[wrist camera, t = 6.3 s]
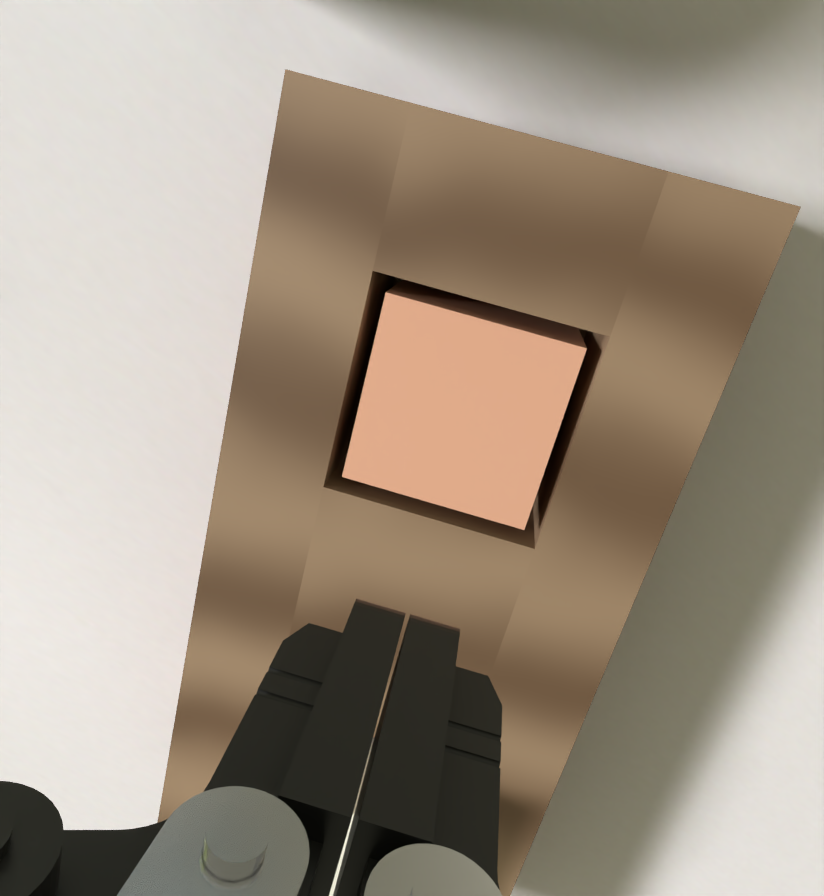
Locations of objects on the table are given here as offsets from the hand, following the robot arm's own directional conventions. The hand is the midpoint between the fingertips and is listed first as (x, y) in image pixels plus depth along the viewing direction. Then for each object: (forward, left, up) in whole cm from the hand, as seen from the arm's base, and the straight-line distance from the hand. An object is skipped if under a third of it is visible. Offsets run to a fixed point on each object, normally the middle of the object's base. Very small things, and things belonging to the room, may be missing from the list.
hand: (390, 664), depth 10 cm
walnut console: (+8, 0, -19) cm, 20 cm away
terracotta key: (0, 0, -17) cm, 17 cm away
